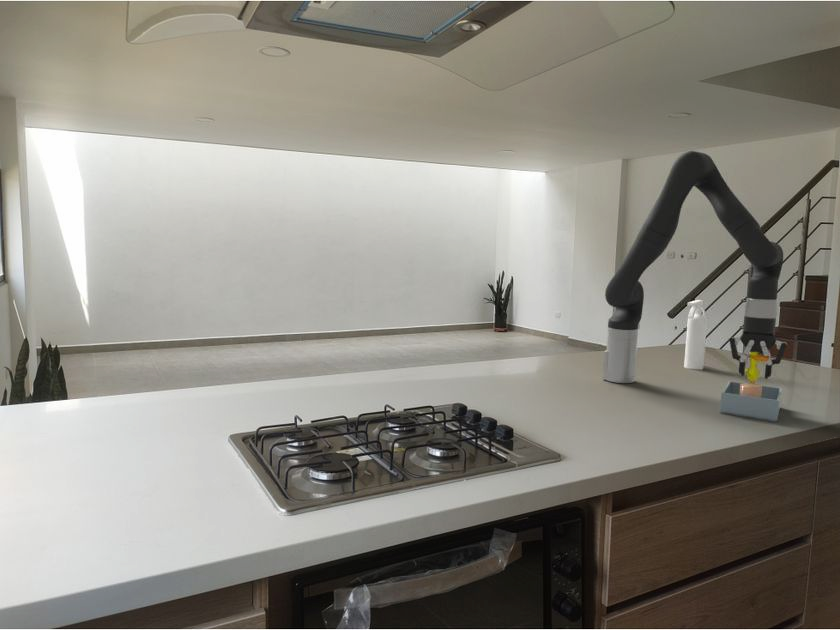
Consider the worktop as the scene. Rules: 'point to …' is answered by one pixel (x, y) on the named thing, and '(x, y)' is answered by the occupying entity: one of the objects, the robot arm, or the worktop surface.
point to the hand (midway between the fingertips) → (754, 376)
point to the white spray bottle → (695, 336)
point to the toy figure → (754, 366)
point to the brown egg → (750, 390)
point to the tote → (751, 402)
